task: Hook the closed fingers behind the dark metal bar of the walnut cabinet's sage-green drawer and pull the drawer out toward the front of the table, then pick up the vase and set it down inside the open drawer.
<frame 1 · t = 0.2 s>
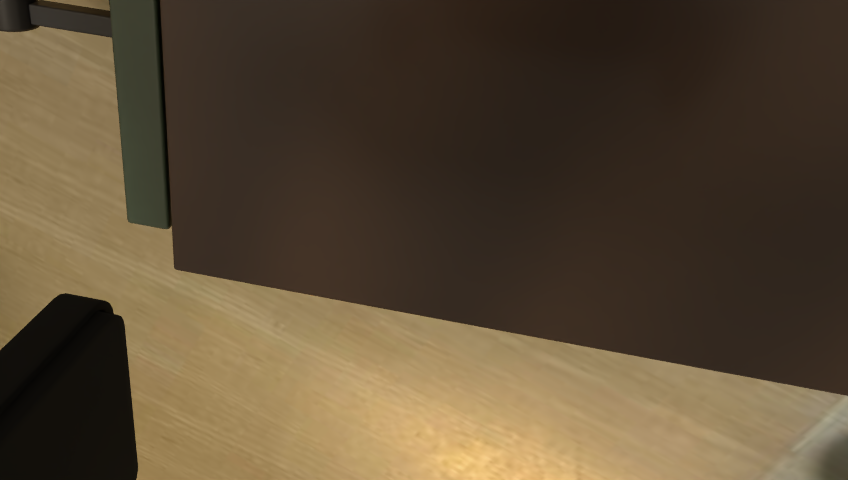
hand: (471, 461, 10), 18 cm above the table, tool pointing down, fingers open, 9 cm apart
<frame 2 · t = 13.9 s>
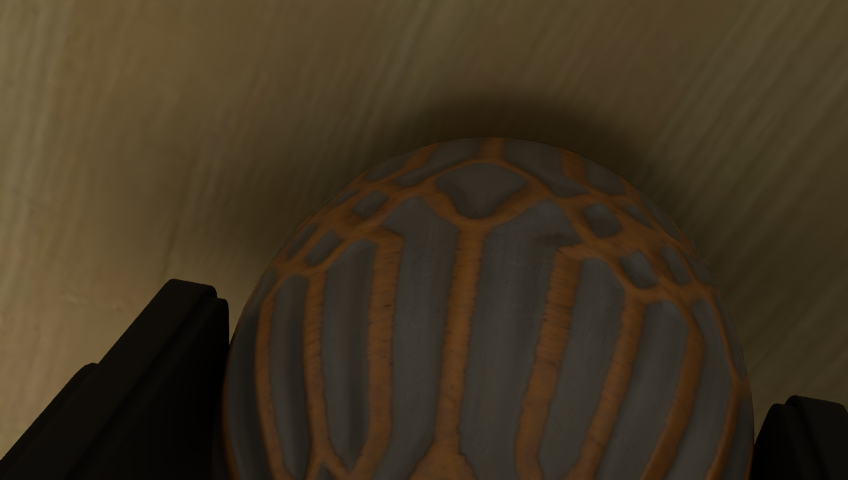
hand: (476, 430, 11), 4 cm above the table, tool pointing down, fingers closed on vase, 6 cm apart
vase: (503, 264, 14), on the table, touching gripper
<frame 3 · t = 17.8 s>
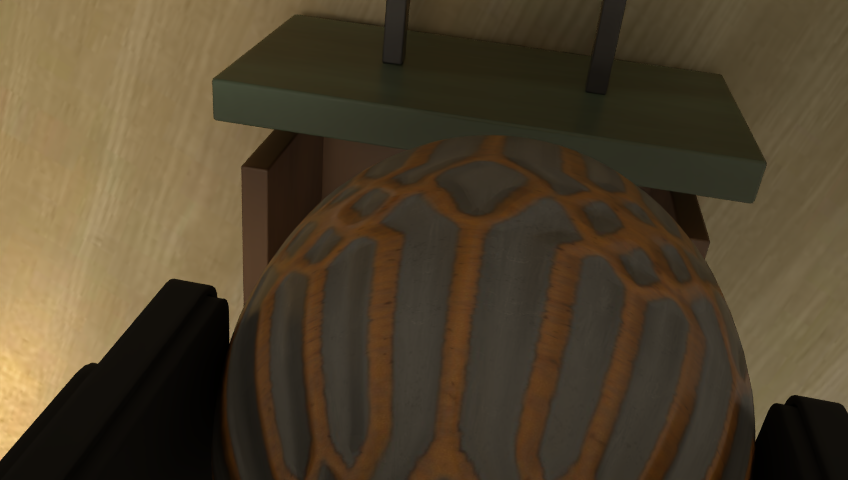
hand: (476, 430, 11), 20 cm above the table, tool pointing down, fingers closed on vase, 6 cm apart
drawer: (470, 235, 27), point 5 cm above the table, slide at 10.0 cm
vase: (504, 262, 14), point 15 cm above the table, touching gripper
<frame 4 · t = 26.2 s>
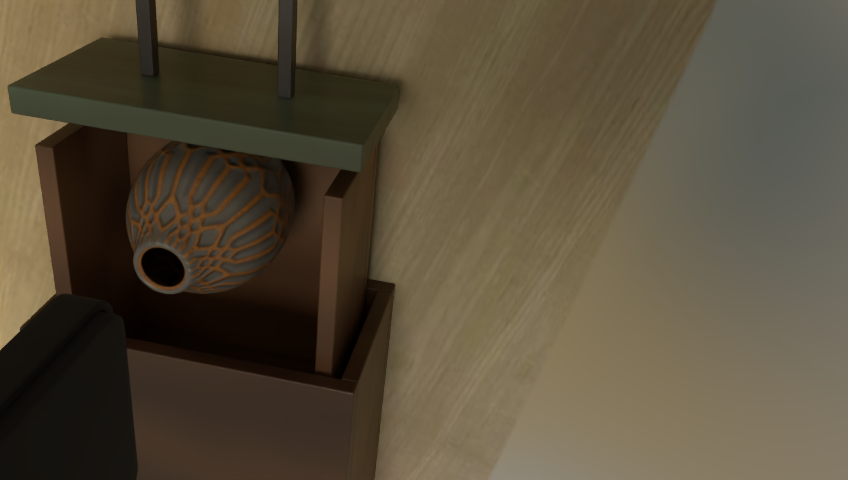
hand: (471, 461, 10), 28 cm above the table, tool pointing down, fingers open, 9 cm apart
drawer: (219, 198, 37), point 5 cm above the table, slide at 10.1 cm, touching vase
cabinet: (253, 384, 48), on the table
vase: (243, 175, 39), point 2 cm above the table, touching drawer
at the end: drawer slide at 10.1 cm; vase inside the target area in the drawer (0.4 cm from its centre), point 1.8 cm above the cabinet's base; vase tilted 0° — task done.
